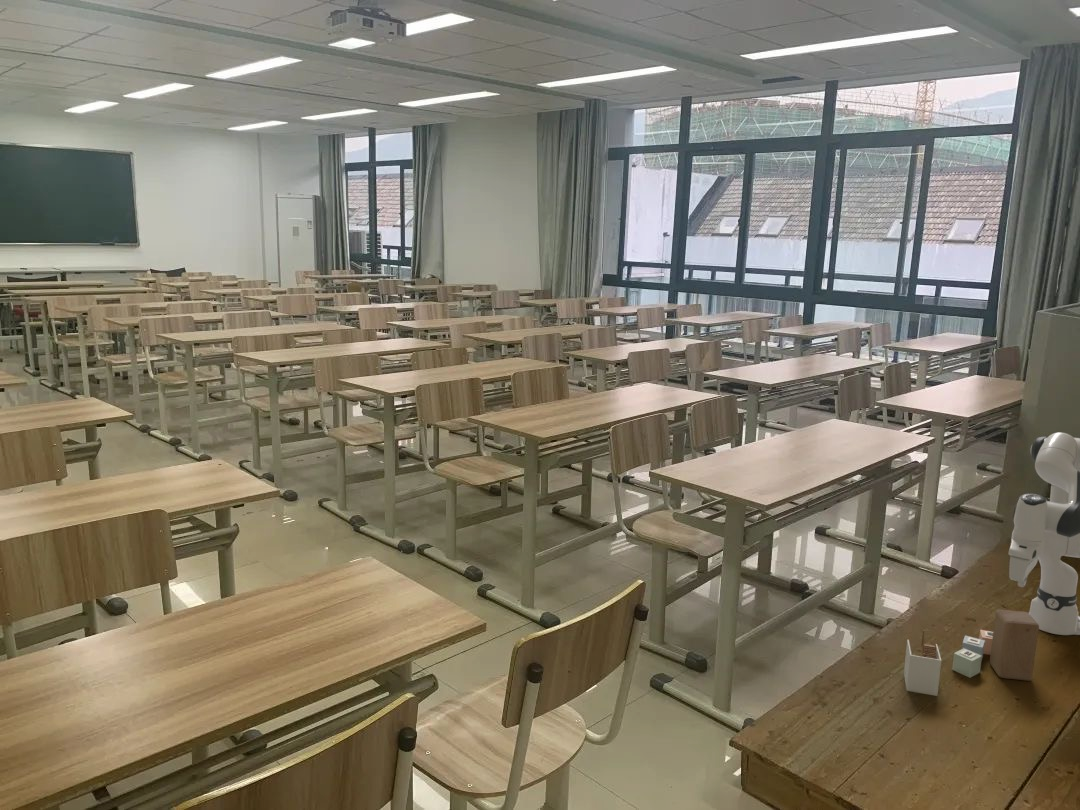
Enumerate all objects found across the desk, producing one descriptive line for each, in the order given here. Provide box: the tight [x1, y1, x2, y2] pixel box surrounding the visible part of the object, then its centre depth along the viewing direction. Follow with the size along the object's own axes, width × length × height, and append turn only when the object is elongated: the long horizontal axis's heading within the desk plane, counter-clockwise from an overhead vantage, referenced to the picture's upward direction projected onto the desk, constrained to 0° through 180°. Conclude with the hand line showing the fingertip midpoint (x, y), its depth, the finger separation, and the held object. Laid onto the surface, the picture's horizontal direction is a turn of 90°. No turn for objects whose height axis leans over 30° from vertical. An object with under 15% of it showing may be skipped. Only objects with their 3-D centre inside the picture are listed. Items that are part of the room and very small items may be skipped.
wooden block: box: [989, 609, 1040, 681], centre depth 257 cm, size 10×10×20 cm
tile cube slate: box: [961, 635, 985, 662], centre depth 267 cm, size 6×6×6 cm
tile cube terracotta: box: [978, 629, 993, 656], centre depth 272 cm, size 6×6×6 cm
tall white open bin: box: [903, 629, 942, 697], centre depth 250 cm, size 9×11×17 cm
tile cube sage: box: [951, 648, 983, 679], centre depth 259 cm, size 6×6×6 cm
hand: (1021, 585), depth 252 cm, fingers closed
